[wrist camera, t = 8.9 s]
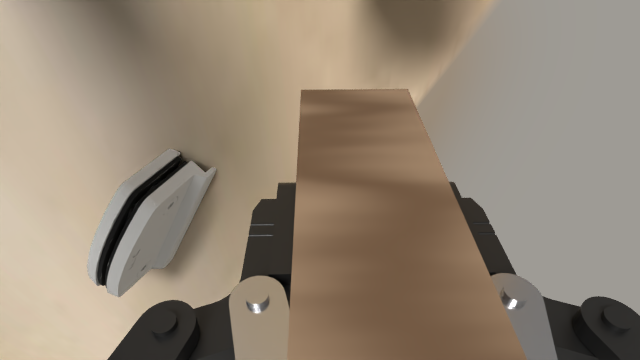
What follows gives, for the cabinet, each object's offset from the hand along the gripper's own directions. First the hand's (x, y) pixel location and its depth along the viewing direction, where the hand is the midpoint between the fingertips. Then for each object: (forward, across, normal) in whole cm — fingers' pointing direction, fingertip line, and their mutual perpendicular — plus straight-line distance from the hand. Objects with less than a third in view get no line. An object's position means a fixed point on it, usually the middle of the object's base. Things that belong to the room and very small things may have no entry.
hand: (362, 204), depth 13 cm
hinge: (+24, +19, +21) cm, 37 cm away
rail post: (+4, 0, 0) cm, 4 cm away
